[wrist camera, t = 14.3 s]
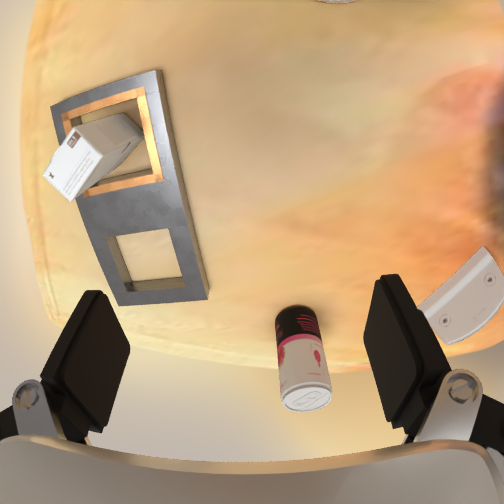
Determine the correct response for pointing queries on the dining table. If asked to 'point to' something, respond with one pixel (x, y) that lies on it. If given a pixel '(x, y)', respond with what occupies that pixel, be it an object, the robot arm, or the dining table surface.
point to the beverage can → (301, 361)
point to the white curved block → (466, 299)
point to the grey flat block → (139, 195)
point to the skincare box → (92, 153)
